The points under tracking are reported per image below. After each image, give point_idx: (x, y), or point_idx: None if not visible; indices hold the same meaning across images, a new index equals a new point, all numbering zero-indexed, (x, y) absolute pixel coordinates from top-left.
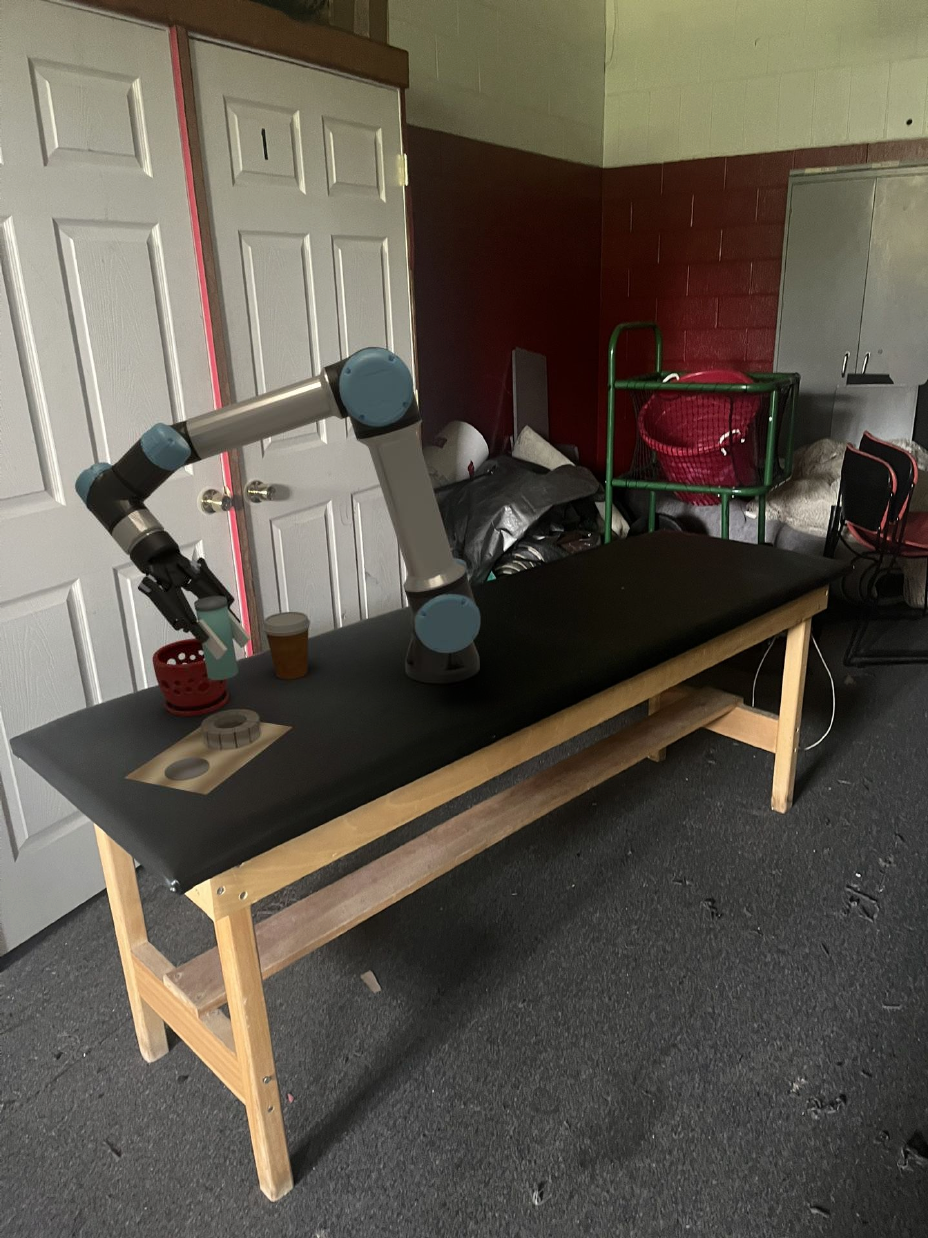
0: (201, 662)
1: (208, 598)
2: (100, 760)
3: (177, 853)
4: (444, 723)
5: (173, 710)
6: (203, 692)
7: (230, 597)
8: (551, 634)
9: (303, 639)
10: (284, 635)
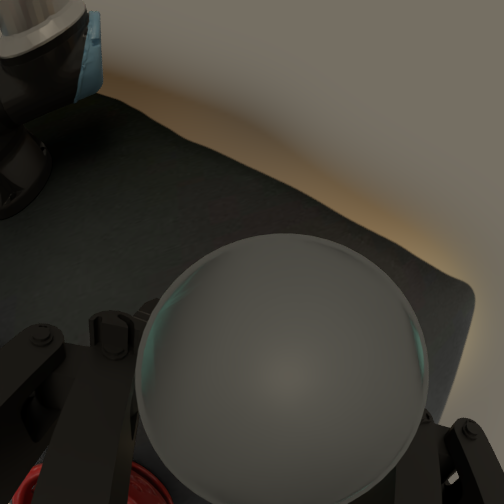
0: (128, 499)
1: (221, 441)
2: None
3: (466, 299)
4: (151, 139)
5: None
6: (148, 485)
7: (36, 340)
8: None
9: None
10: None
